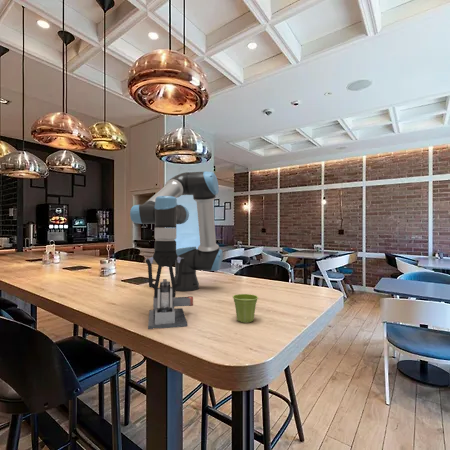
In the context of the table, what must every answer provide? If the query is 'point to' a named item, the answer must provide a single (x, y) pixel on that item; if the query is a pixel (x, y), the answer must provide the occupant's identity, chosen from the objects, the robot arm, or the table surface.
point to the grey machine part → (175, 302)
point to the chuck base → (167, 318)
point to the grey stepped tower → (165, 296)
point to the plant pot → (245, 307)
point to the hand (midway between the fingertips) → (164, 306)
